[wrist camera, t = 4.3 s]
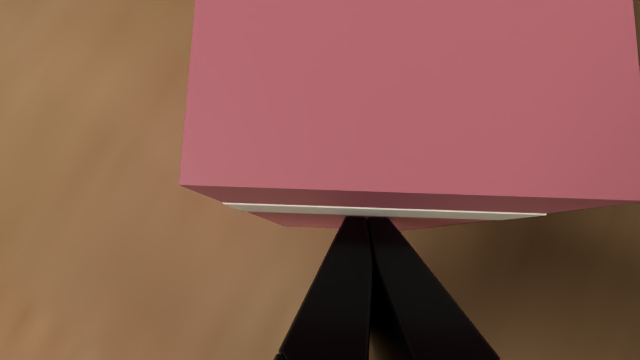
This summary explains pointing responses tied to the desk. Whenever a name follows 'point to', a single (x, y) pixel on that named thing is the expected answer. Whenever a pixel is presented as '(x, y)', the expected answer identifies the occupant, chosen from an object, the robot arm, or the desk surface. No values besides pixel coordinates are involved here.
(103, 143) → the desk surface
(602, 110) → the book
